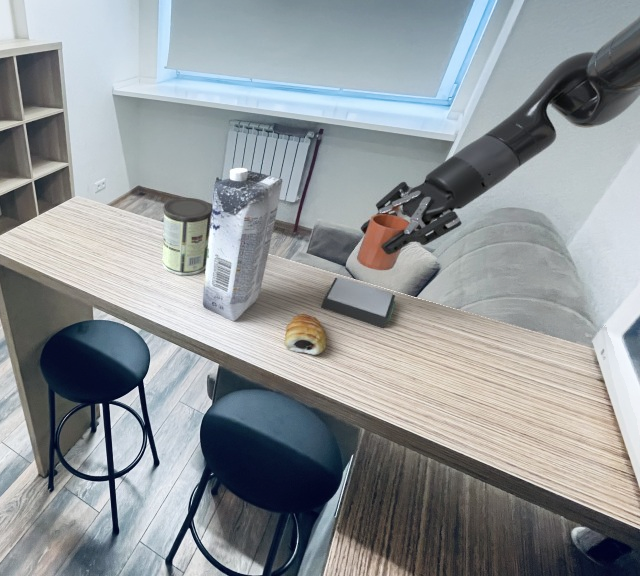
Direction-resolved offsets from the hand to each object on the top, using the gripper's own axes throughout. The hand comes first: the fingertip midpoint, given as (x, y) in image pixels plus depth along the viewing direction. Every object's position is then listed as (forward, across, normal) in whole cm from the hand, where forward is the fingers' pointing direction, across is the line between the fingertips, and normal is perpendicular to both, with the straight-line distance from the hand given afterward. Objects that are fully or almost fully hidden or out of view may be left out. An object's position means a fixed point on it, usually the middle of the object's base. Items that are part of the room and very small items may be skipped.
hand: (373, 241), depth 71 cm
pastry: (+20, +9, +1) cm, 21 cm away
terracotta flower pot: (+2, 0, +4) cm, 5 cm away
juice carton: (+27, -2, -6) cm, 28 cm away
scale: (+9, 0, +12) cm, 15 cm away
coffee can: (+32, -19, -10) cm, 38 cm away
